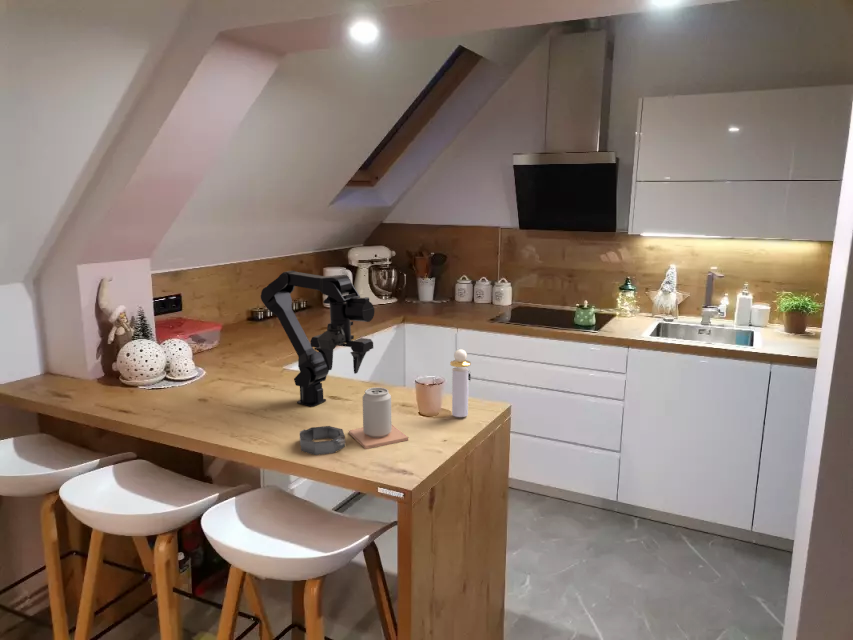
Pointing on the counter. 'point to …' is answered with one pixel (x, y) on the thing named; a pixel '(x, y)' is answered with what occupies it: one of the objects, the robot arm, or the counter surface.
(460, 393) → the perfume bottle
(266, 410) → the counter surface
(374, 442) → the coaster
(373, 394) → the can
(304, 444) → the collar
